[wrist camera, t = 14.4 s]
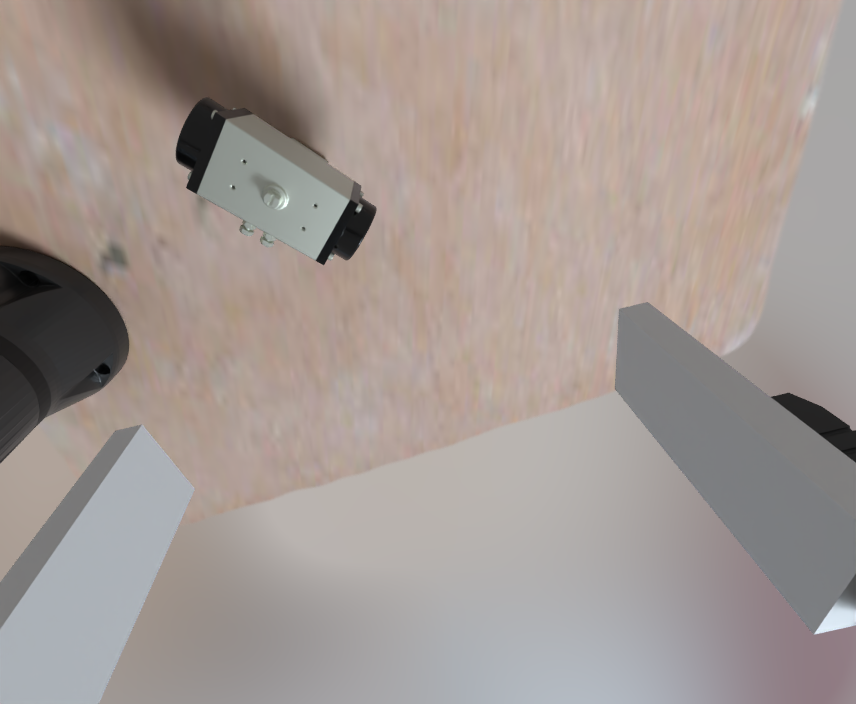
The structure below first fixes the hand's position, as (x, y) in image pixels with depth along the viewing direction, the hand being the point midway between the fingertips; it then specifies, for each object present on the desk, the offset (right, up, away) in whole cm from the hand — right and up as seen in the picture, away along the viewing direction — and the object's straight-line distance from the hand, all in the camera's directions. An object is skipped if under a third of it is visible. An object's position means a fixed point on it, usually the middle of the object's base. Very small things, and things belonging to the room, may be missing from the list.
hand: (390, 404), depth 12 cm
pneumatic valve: (-10, +16, +23) cm, 30 cm away
